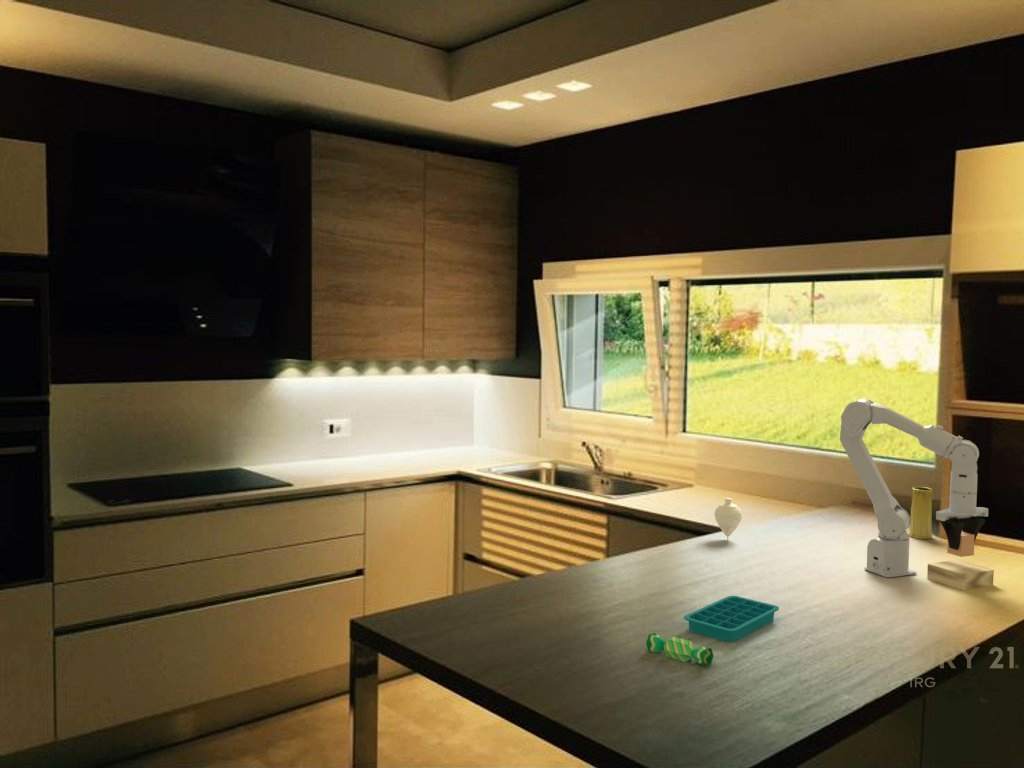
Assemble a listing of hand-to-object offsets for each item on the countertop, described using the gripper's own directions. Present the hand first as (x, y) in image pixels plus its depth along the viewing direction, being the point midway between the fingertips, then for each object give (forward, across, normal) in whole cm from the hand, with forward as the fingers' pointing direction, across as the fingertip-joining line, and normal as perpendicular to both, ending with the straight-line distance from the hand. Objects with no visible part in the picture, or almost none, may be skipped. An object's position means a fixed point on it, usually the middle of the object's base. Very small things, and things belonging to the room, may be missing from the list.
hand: (961, 547), depth 205 cm
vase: (+8, +26, +37) cm, 46 cm away
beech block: (+9, 0, 0) cm, 9 cm away
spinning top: (+8, -29, +54) cm, 61 cm away
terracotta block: (+2, 0, 0) cm, 2 cm away
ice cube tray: (+9, -69, -6) cm, 70 cm away
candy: (+9, -88, -17) cm, 91 cm away
